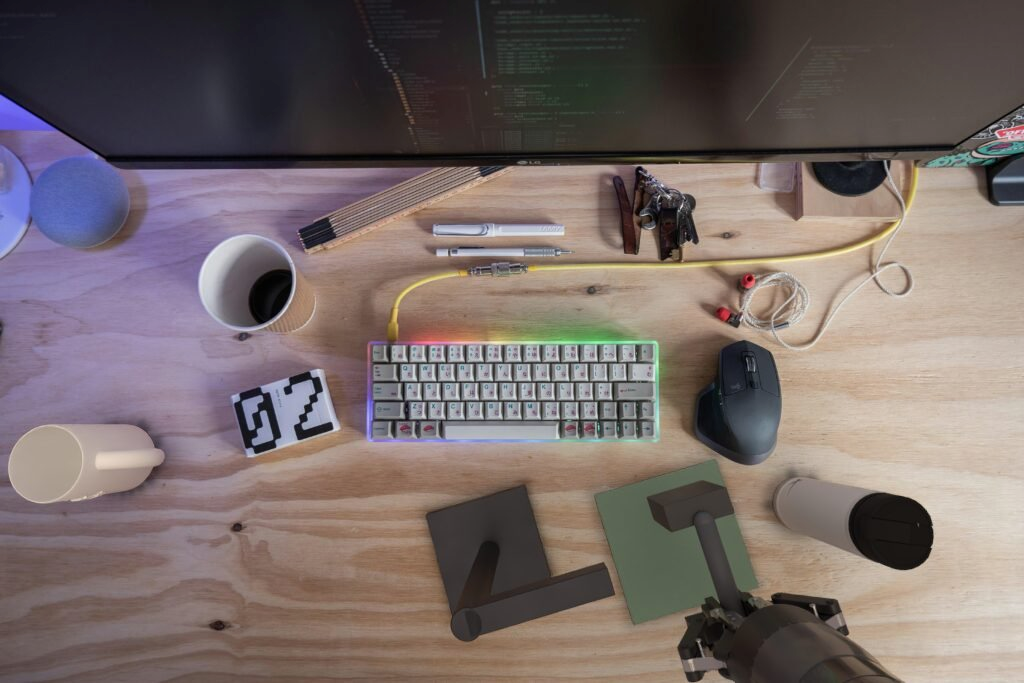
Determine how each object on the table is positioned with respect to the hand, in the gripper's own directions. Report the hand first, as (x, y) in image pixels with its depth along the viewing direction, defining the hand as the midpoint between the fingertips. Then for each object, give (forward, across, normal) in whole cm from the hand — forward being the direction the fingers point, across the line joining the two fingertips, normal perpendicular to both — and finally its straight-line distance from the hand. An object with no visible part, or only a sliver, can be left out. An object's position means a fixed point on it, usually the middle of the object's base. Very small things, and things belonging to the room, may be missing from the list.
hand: (724, 604), depth 55 cm
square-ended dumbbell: (+5, 0, +3) cm, 6 cm away
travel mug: (+15, +15, +3) cm, 22 cm away
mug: (+15, -59, +30) cm, 68 cm away
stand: (+15, -18, +8) cm, 25 cm away
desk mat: (+15, 0, +3) cm, 15 cm away
